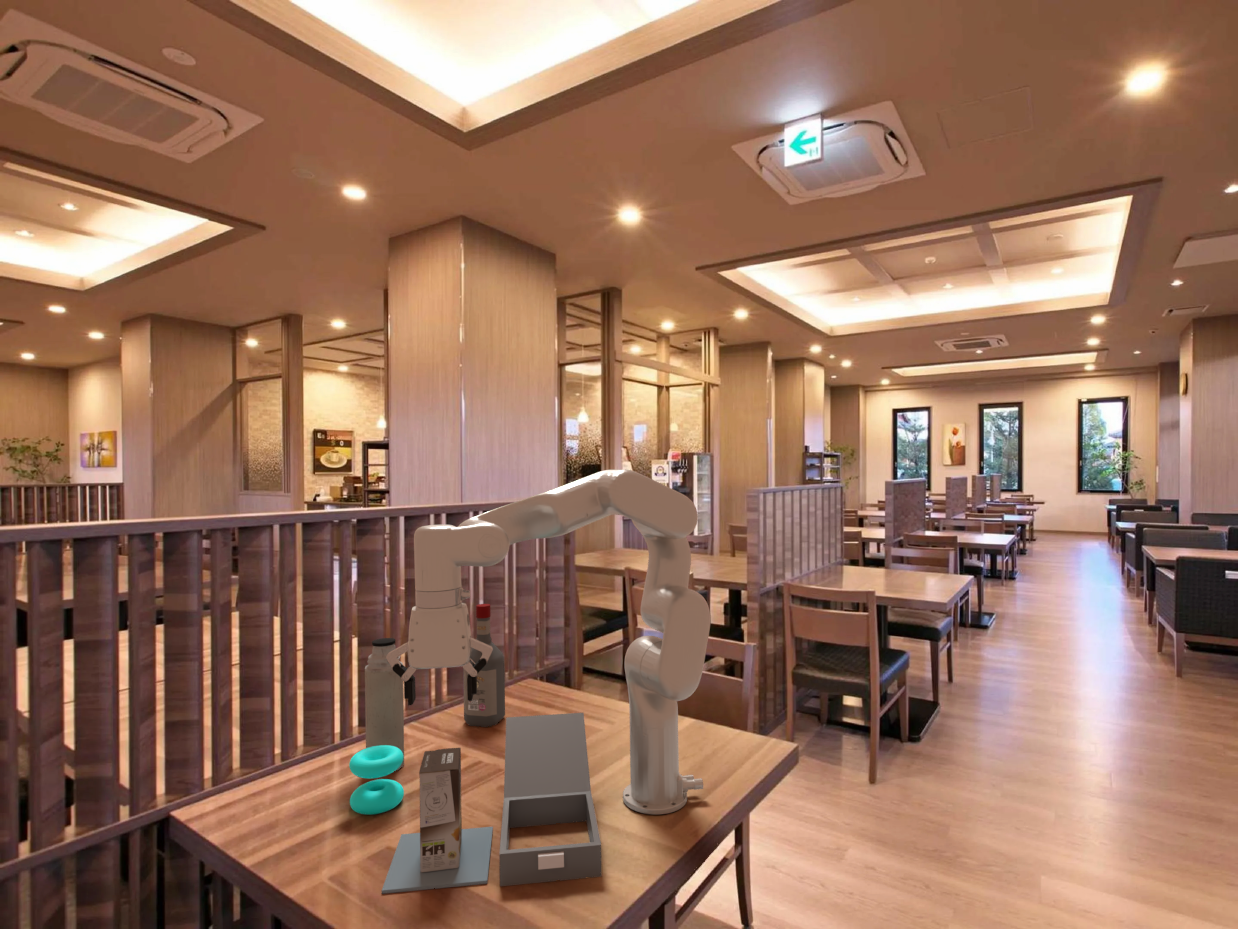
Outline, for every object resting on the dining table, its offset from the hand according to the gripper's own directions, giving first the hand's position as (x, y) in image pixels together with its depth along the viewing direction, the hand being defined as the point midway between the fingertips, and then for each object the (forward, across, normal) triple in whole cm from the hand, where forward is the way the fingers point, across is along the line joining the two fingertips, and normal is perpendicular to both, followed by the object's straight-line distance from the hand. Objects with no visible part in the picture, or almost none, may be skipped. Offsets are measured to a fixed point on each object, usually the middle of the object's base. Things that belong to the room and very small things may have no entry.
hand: (441, 700), depth 112 cm
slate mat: (+26, +1, 0) cm, 27 cm away
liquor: (+27, -2, -62) cm, 67 cm away
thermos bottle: (+27, +18, -38) cm, 49 cm away
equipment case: (+27, -17, 0) cm, 32 cm away
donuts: (+27, +16, -21) cm, 37 cm away
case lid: (+17, -18, -17) cm, 30 cm away
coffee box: (+26, +1, 0) cm, 26 cm away
